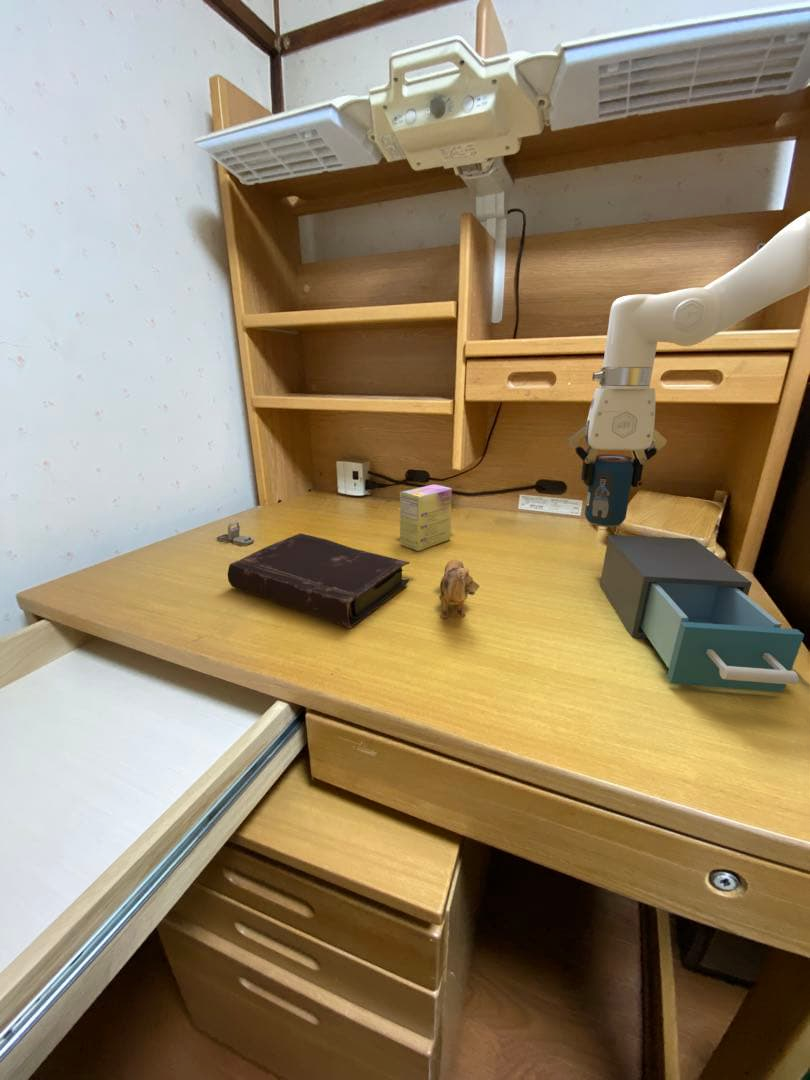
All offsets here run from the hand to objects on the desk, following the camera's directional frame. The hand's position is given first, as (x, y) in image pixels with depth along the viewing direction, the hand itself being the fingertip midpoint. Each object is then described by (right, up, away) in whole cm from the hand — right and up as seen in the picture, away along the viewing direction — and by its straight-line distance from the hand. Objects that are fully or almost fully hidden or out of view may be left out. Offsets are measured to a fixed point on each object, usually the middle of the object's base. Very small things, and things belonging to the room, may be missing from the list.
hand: (609, 484), depth 82 cm
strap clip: (-74, -10, +18) cm, 76 cm away
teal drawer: (+2, -26, -23) cm, 35 cm away
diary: (-51, -18, -2) cm, 54 cm away
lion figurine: (-29, -21, -9) cm, 36 cm away
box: (-32, -11, +18) cm, 38 cm away
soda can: (0, -7, +3) cm, 7 cm away
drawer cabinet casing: (+4, -21, -9) cm, 24 cm away
